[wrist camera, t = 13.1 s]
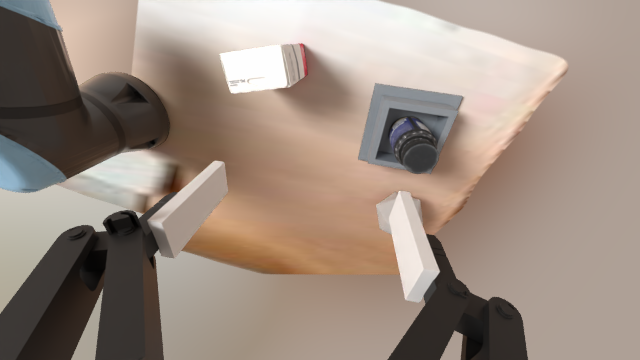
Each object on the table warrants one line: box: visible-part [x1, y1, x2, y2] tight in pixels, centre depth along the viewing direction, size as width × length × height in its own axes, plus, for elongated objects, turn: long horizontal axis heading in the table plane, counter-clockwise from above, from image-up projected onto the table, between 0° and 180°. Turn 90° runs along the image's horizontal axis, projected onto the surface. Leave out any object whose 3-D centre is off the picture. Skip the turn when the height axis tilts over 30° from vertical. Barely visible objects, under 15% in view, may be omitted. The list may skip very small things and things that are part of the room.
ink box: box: [219, 44, 308, 94], centre depth 33 cm, size 8×5×12 cm, turn 98°
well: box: [358, 83, 463, 174], centre depth 39 cm, size 14×14×4 cm
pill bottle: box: [388, 116, 439, 174], centre depth 36 cm, size 6×6×11 cm
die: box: [376, 192, 423, 235], centre depth 46 cm, size 8×9×10 cm
